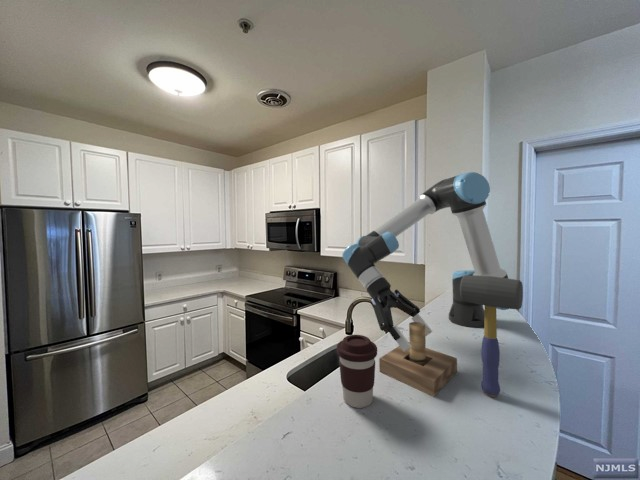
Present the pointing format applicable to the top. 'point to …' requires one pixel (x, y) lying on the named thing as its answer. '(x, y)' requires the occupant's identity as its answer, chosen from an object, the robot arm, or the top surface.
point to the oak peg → (417, 343)
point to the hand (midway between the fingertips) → (419, 341)
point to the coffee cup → (357, 369)
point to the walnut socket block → (419, 369)
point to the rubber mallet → (491, 318)
